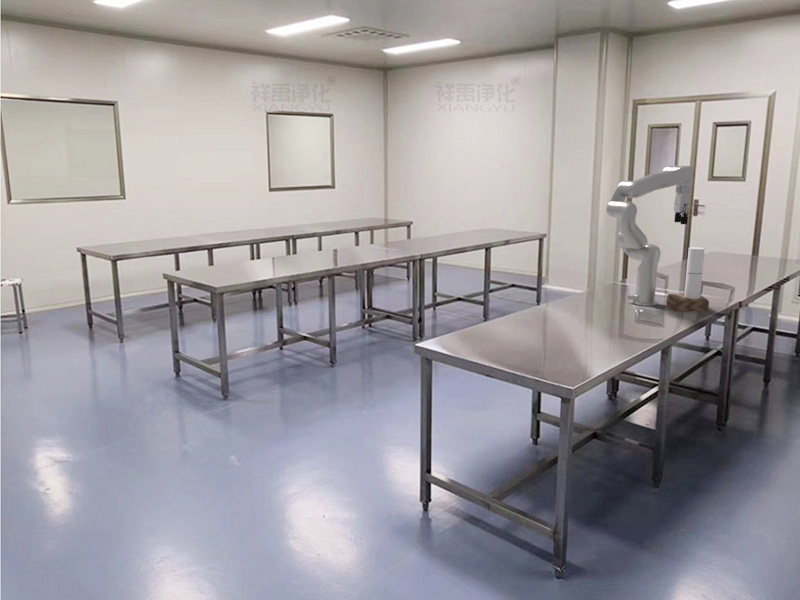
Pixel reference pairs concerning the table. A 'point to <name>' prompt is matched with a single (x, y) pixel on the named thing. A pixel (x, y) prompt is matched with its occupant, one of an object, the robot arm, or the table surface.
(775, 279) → the table surface
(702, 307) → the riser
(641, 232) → the robot arm
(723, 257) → the table surface
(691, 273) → the cylindrical container
